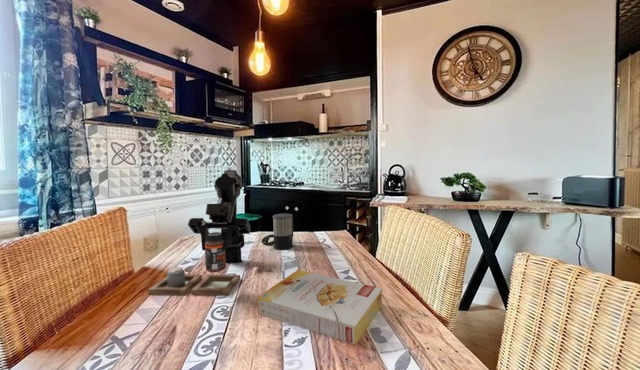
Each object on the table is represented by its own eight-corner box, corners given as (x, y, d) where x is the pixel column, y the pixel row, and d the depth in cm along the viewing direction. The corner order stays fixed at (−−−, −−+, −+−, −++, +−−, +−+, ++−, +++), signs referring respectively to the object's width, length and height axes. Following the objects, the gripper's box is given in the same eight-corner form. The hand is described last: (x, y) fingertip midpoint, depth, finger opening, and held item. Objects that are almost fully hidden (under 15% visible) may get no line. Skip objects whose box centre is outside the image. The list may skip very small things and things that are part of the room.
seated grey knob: (173, 282, 94) (172, 266, 94) (188, 282, 94) (187, 266, 93) (164, 289, 89) (163, 272, 89) (180, 289, 89) (179, 272, 88)
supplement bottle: (219, 273, 87) (218, 236, 86) (201, 272, 88) (199, 235, 87) (229, 266, 93) (228, 231, 92) (212, 265, 94) (211, 230, 93)
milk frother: (292, 250, 129) (291, 217, 128) (256, 250, 129) (255, 217, 128) (295, 241, 143) (294, 211, 142) (263, 241, 143) (262, 211, 142)
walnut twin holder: (169, 281, 97) (169, 274, 97) (240, 282, 96) (240, 275, 96) (148, 297, 86) (148, 289, 86) (228, 298, 85) (228, 290, 85)
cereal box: (297, 268, 94) (383, 285, 80) (297, 284, 94) (383, 304, 81) (255, 296, 76) (357, 324, 63) (256, 316, 77) (357, 348, 63)
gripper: (188, 193, 92) (171, 237, 83) (246, 193, 91) (236, 237, 82) (201, 212, 101) (187, 254, 91) (254, 212, 100) (246, 254, 90)
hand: (213, 250), depth 88 cm, fingers closed on supplement bottle, 6 cm apart
